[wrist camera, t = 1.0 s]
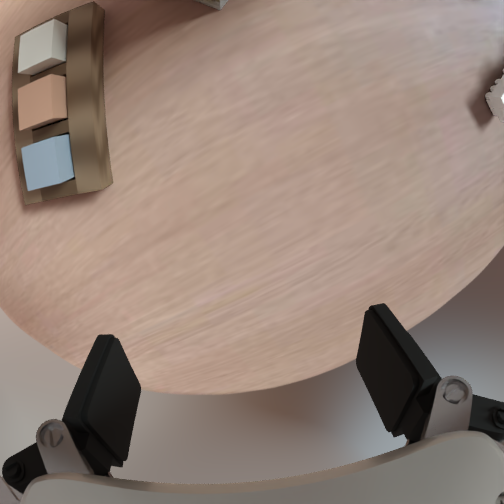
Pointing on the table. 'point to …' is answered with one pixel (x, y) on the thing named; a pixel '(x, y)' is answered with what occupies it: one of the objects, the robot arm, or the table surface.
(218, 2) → the coffee box
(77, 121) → the key panel
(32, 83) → the key terracotta
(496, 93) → the toy train
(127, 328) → the table surface
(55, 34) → the key white
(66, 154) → the key blue
